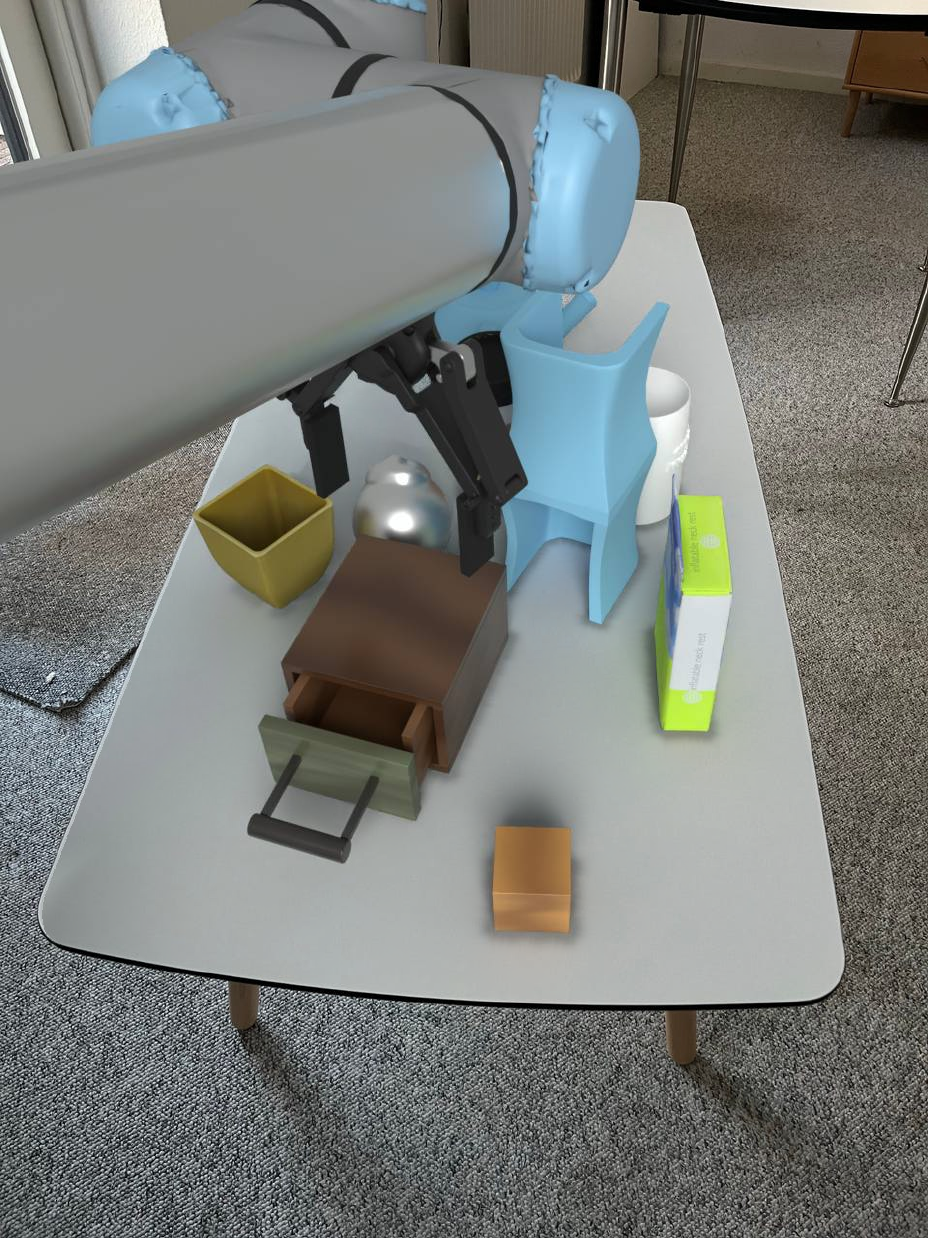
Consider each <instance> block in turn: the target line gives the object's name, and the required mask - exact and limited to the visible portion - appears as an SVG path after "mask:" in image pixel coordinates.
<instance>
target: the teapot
mask: <svg viewBox="0 0 928 1238" xmlns="http://www.w3.org/2000/svg"><path fill="white" fill-rule="evenodd" d="M536 291H537V290H536ZM536 291H533V292H530V291H528V290H523V287H521V286H518V285H514V284H511V283H508V282H499V281H497V282H490V283H489V284H487V285H485V286H483V287H481V288H479V289H477V290H475V291H473V292H471V293H468V294H467V295H465V296H463V297H461V298H459V299H457V300H455V301H453V302H452V303H450V304H448V305H446V306H444V307H442V308H440V309H439V310H437V311H436V313H435V324H436V327H437V330H438V332H439V334H440V336H441V339H442V340H443V341H447V342H450V343H454V344H457V343H459V342H460V341H461V340H463V339H464V338H466V337H468V336H470V335H472V334H475V333H478V332H484V331H502V329H503V327H504V326H505V325H506V324H507V322H508V321H509V320H510V319H511V318H512V317H513V316H514V315H515V314H516V313H517V312H518V311H519V310H520V308H521V307H522V306H523V305H524V304H525V303H526V302H527V301H528V300H529V299H530V298H531V297H532V296H533V295H534V294H535V292H536ZM597 306H598V300H597V299H596V297H595V296H594V294H592V293H591V292H590V290H589V291H587V292H584V293H582V294H574V296H573V297H572V298H571V299H570V300H569V301H568V302H567V304H566V305H565V306H564V307H562V312H563V339H564V338H566V336H568V335H569V334H570V332H572V331H573V330H574V328H576V327H577V326H578V325H579V323H581V322H582V321H583V320H584V319H585V318H586V317H587V315H589V314H590V313H591V312H592V311H593V310H594V309H595V308H596V307H597Z"/></svg>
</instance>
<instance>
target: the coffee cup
mask: <svg viewBox="0 0 928 1238" xmlns="http://www.w3.org/2000/svg"><path fill="white" fill-rule="evenodd" d="M500 333H501V331H484V332H478V333H475V334H472V335H470V336H468V337H466V338H464V339H463V340H461V341H460V342H459V343H457V344H458V345H460V344H462V343H463V342H465V341H466V340H468V339H470V338H473V339H475V340H477V341H478V342H479V344H480V345H481V348H482V353H483V360H484V368H485V376H486V378H487V381H488V383H489V386H490V388H491V391H492V393H493V396H494V398H495V400H496V403H497V405H498V408H499V410H500V413H501V415H502V418H503V420H504V422H505V425H506V427H507V430H508V432H509V434H510V430H511V424H512V416H513V395H512V387H511V381H510V375H509V370H508V366H507V361H506V358H505V354H504V350H503V347H502V343H501V339H500ZM477 479H480V476H479V475H478V477H477ZM463 492H464V491H463V490H462V493H463Z"/></svg>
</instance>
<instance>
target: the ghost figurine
mask: <svg viewBox="0 0 928 1238" xmlns="http://www.w3.org/2000/svg"><path fill="white" fill-rule="evenodd" d="M364 477H365V479H364V480H365V485H364V487H363V488H362V489H361V490H360V492H359V493H358V495H357V497H356V499H355V502H354V505H353V509H352V515H351V525H352V531H353V535H354V537H355V540H356V539H357V538H358V536H359V534H363V535H368V536H373V537H378V538H382V539H387V540H392V541H397V542H401V543H406V544H411V545H416V546H421V547H425V548H430V549H435V550H440V551H444V548H445V547H446V545H447V544H448V541H449V539H450V536H451V532H452V527H453V514H452V513H453V512H452V508H451V505H450V501H449V500H448V497H447V496H446V494H445V492H444V491H443V489H442V488H441V487H440V486H439V484H438V483H437V482H435V481H434V480H433V479H432V477H431V473H430V471H429V469H428V468H427V467H426V465H425V464H423V463H422V462H420V461H418V460H415V459H411V458H408V457H405V456H404V455H399V454H391V455H388V456H386V458H384V459H383V460H382V461H380V462H377V463H375V464H373V465H371V466H370V467H369V468H368V470H367V471H366V474H365V476H364Z"/></svg>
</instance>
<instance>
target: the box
mask: <svg viewBox="0 0 928 1238" xmlns="http://www.w3.org/2000/svg"><path fill="white" fill-rule="evenodd" d="M725 517H726V516H725V510H724V504H723V500H722V496H721V495H695V494H694V495H693V494H692V495H691V494H679V495H678V493H677V479H676V474H675V473H674V474H673V476H672V501H671V510H670V515H669V519H668V525H667V535H666V542H665V548H664V554H663V555H664V556H663V563H662V572H661V576H660V577H661V578H660V585H659V593H658V599H657V600H658V602H657V610H656V618H655V623H654V629H653V635H654V641H655V642H654V643H655V644H654V646H655V659H656V660H655V661H656V679H657V692H658V713H659V721H660V726H661V729H662V731H688V732H691V731H692V732H709V729H710V725H711V721H712V715H713V711H714V705H715V700H716V694H717V690H718V689H717V688H718V683H719V677H720V672H721V667H722V661H723V655H724V649H725V644H726V638H727V632H728V627H729V620H730V616H731V615H730V614H731V609H732V603H733V598H734V587H733V577H732V569H731V560H730V550H729V541H728V533H727V526H726V525H727V524H726V518H725Z"/></svg>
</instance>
